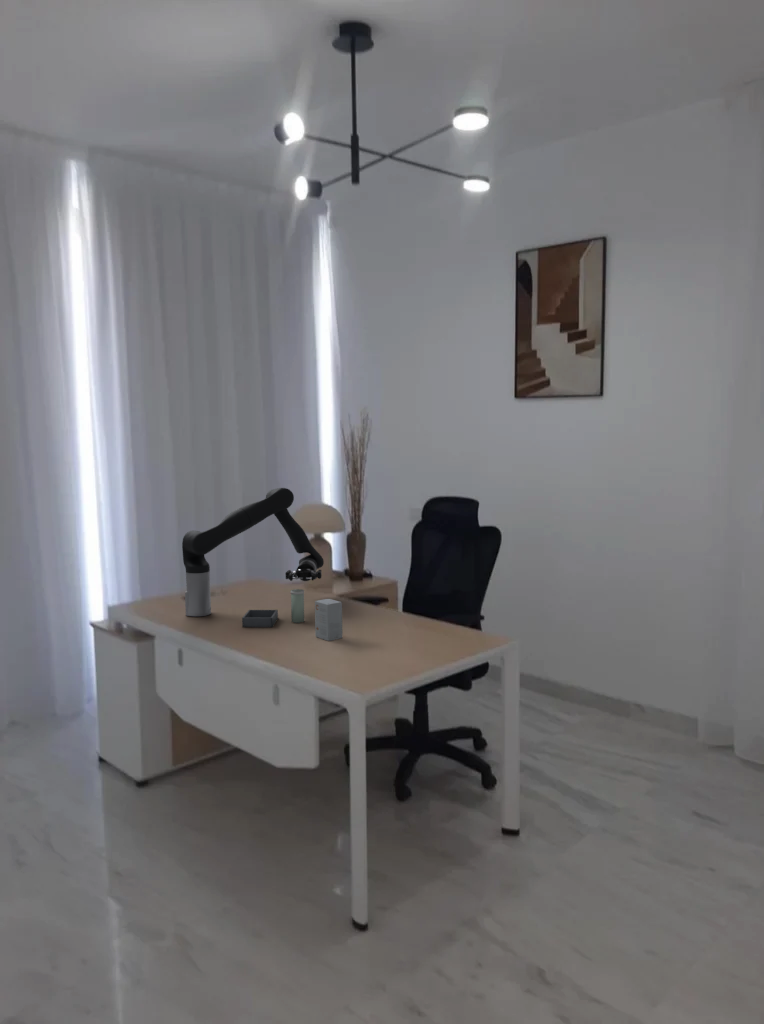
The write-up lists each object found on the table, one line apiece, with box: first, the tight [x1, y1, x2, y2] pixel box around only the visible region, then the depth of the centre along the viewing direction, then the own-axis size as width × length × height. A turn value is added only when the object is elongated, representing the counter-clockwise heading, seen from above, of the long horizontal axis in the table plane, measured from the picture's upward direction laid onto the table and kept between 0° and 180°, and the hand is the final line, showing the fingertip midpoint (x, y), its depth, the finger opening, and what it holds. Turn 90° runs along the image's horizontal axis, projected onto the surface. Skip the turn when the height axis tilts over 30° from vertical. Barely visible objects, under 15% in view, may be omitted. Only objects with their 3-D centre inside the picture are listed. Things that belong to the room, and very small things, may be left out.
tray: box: [241, 609, 279, 628], centre depth 305 cm, size 11×13×4 cm
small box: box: [314, 598, 343, 642], centre depth 283 cm, size 8×6×13 cm
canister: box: [290, 588, 305, 624], centre depth 306 cm, size 5×5×12 cm
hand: (301, 578), depth 317 cm, fingers open, 8 cm apart
